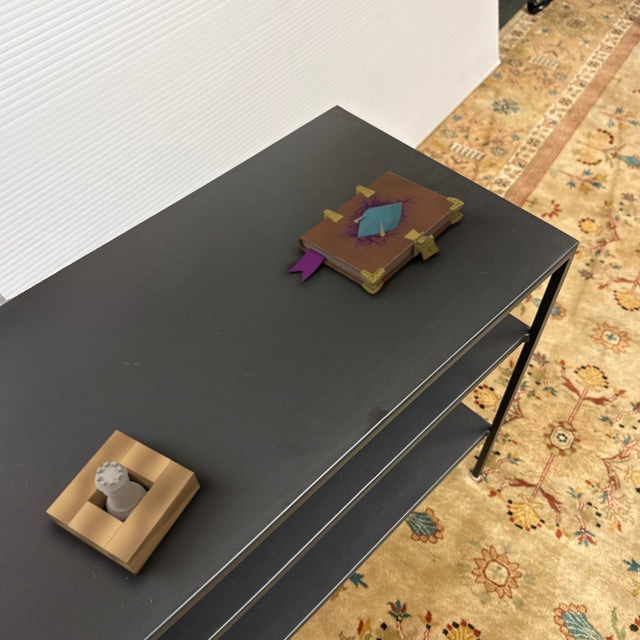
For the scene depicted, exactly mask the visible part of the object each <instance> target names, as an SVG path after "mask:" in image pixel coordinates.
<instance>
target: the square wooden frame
mask: <svg viewBox="0 0 640 640" xmlns="http://www.w3.org/2000/svg"><path fill="white" fill-rule="evenodd" d="M113 461H114V462H117V463H120V464H123V465H124V466H125V467H126V469H127V472H128V474H127V475H128V477H129V480H132V481H133V482H135V483H138V484H140V485H141V486H142V487H143V488H146V489H148V491H147V494H146V495H145V496H144V497H143V499H142V500H141V501H140V503H139V504H138V505H137V506H136V508H135V509H134V510H133V512H132V513H131V514H130V516H129V517H128V518H127V519H126V521H125V522H124V523H123V522H122V521H120V520H118V519H117V518H115V517H113V516H112V515H110V514H109V513H108V511H105V510H104V507H105V506H106V502H107V497H108V496H107V495H105V494H104V493H103V491H100V490H99V489H98V488H97V487H96V484H95V476H96V474H97V472H96V471H97V469H98V468H99V467H100V468H102V467H103V466H104V465H103V463H106V462H108V463H112V462H113ZM198 490H200V484H199V481H198V479H197V477H196V474H195V472H194V471H192V470H190V469H188V468H186V467H185V466H183V465H181V464H180V463H177V462H176V461H174V460H172V459H171V458H168V457H166V456H165V455H163V454H161V453H160V452H158V451H156V450H154V449H153V448H150V447H148V446H147V445H145V444H143V443H141V442H140V441H138V440H136V439H134V438H132V437H130V436H129V435H127V434H125V433H123V432H121V431H120V430H118V429H116V430H114V432H113V433H112V434H111V435H110V436H109V437H108V439H107V440H106V441H105V442H104V443H103V445H101V447H100V448H99V449H98V450H97V452H96V453H95V454H94V455H93V456H92V457H91V458H90V460H89V461H88V462H87V463H86V464H85V465H84V467H82V469H81V470H80V471H79V473H78V474H77V475H76V476H75V477H74V479H73V480H71V482H70V483H69V484H68V485H67V487H66V488H65V489H64V490H63V491H62V493H61V494H59V496H58V497H57V498H56V499H55V500H54V502H52V504H51V505H50V506H49V507H48V509H47V510H45V512H46V513H47V514H48V516H49V517H50V518H51V519H52V520H53V521H54V522H55V524H56V525H58V526H59V527H61V528H62V529H64V530H65V531H67V532H68V533H70V534H72V535H73V536H74V537H76V538H78V539H79V540H80V541H82V542H84V543H85V544H87V545H89V546H90V547H92V548H93V549H94V550H96V551H97V552H99V553H101V554H102V555H104V556H106V557H107V558H108V559H110V560H112V561H113V562H115V563H116V564H118V565H119V566H121V567H123V568H124V569H125V570H127V571H129V572H131V573H132V574H134V575H137V574H139V572H140V571H141V569H142V568H143V566H144V565H145V563H146V562H147V561H148V559H149V558H150V557H151V555H152V554H153V552H154V551H155V549H157V547H158V545H159V544H160V543H161V542H162V540H163V539H164V537H165V536H166V535H167V533H168V532H169V530H170V529H171V527H172V526H173V525H174V523H175V522H176V521H177V519H178V518H179V517H180V515H181V514H182V513H183V511H184V510H185V508H186V507H187V506H188V504H189V503H190V502H191V500H192V498H194V496H195V495H196V493H198Z"/></svg>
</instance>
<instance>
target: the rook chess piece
mask: <svg viewBox="0 0 640 640" xmlns="http://www.w3.org/2000/svg"><path fill="white" fill-rule="evenodd" d="M103 465H104V466H103V467H102V468H100V467H99V468H98V469H97V471H96V472H97V474H96V476H95V484H96V487H97V488H98V489H99V490H100V491H103V493H104V494H105V495H107V496H108V497H107V502H106V504H105V506H106V510H107V511H106V512H107V513H108V514H110V515H112V516H113V517H115V518H117V519H118V520H120V521H122V522H123V523H124V522H125V521H126V519H127V518H128V517H129V516H130V514H131V513H132V512H133V510H134V509H135V508H136V506H137V505H138V504H139V503H140V501H141V500H142V499H143V497H144V496H145V495H146V494H147V492H148V491H147V490H146V489H145V487H144V486H142V485H141V484H139V483H137V482H135V481H133V480H132V481H130V478H129V477H128V475H127V474H128V472H127V469H126V467H125V466H124V465H123V464H120V463H117V462H114V461H113V462H112V463H108V462H106V463H103Z"/></svg>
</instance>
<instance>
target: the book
mask: <svg viewBox="0 0 640 640" xmlns="http://www.w3.org/2000/svg"><path fill="white" fill-rule="evenodd" d="M355 191H356V193H355V194H356V195H354V196H353V197H351V198H350V199H348V201H345V203H343V204H342V205H341V206H340V207H338V208H337V209H336V210H334V211H332V210H330V209H328V208H327V209H325V210H324V211H323V217H324V218H323V219H322V220H321V221H320V222H318V223H317V224H316V225H315V226H313V227H311V228H310V230H308V231H306V232H305V233H304V234H303V235H301V236H300V237H299V238H298V239H297V244H298V246H299V248H300V249H301V251H303V252H304V255H303V256H302V258H300V260H299V261H298V262H297V263H296V264H295V265H294V266H293V267H291V268H289V270H287V271H286V272H287V273H291V272H302V274H301V278H302V279H301V282H303V281H305V280H306V279H308V278H310V276H311V275H312V274H313V273H314V272H315V271H316V270H317V269H319V266H321V264H322V263H323V264H325V265H326V266H328V267H330V268H332V269H333V270H335V271H337V272H338V273H340V274H342V275H344V276H345V277H347V278H349V279H350V280H352V281H353V282H355V283H357V284H359V285H360V286H362V288H363V289H365V290H366V292H368V293H370V294H373V295H374V294H376V293H378V292H379V290H381V288H382V287H383V285H384V283H385V282H387V280H389V279H390V278H391V277H392V276H393V275H394V274H395V273H397V272H398V271H399V270H400V269H401V268H403V267H404V266H405V265H406V264H407V263H408V262H409V261H411V260H412V259H413V258H414V257H416V256H418V255H419V254H421V258H422V260H423V261H425V260H427V259H428V258H431V256H433V255H435V254H436V253H438V252H439V251H440V249H439V248H438V246H437V245H436V242H435V239H436V238H437V237H438V236H439V235H440V234H442V233H443V232H444V231H445V230H446V229H447V228H448V227H449V226H450V225H453V224H455V223H457V222H459V221H460V220H461V219H462V218H463V216H464V214H463V213H461V212H460V211H459V210H461V209H462V208H463V206H464V205H465V202H463V201H462V200H461V199H459V198H455V197H452V196H449V197H447V196H444V195H442V194H440V193H438V192H437V191H433V190H431V189H429V188H427V187H424V186H422V185H420V184H418V183H417V182H414V181H412V180H409V179H407V178H405V177H402V176H400V175H398V174H396V173H394V172H391V171H389V170H387V171H386V172H385V173H383V174H382V175H380V176H379V177H378V178H376V179H375V180H374V181H373V182H371V183H370V184H369V185H367V186H366V187H364V186H362V185H360V184H359V185H357V186H356V187H355Z"/></svg>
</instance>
